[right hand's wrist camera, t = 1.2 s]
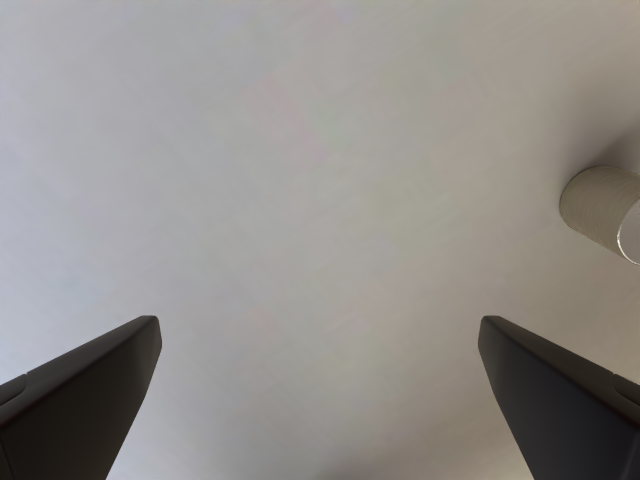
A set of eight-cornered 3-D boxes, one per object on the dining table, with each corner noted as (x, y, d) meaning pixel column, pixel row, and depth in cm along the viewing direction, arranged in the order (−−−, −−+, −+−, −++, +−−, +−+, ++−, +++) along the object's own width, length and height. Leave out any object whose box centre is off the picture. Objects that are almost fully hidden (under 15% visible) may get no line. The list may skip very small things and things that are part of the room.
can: (634, 161, 20) (715, 181, 16) (624, 228, 22) (697, 262, 17) (562, 169, 21) (624, 191, 16) (556, 235, 22) (612, 271, 18)
